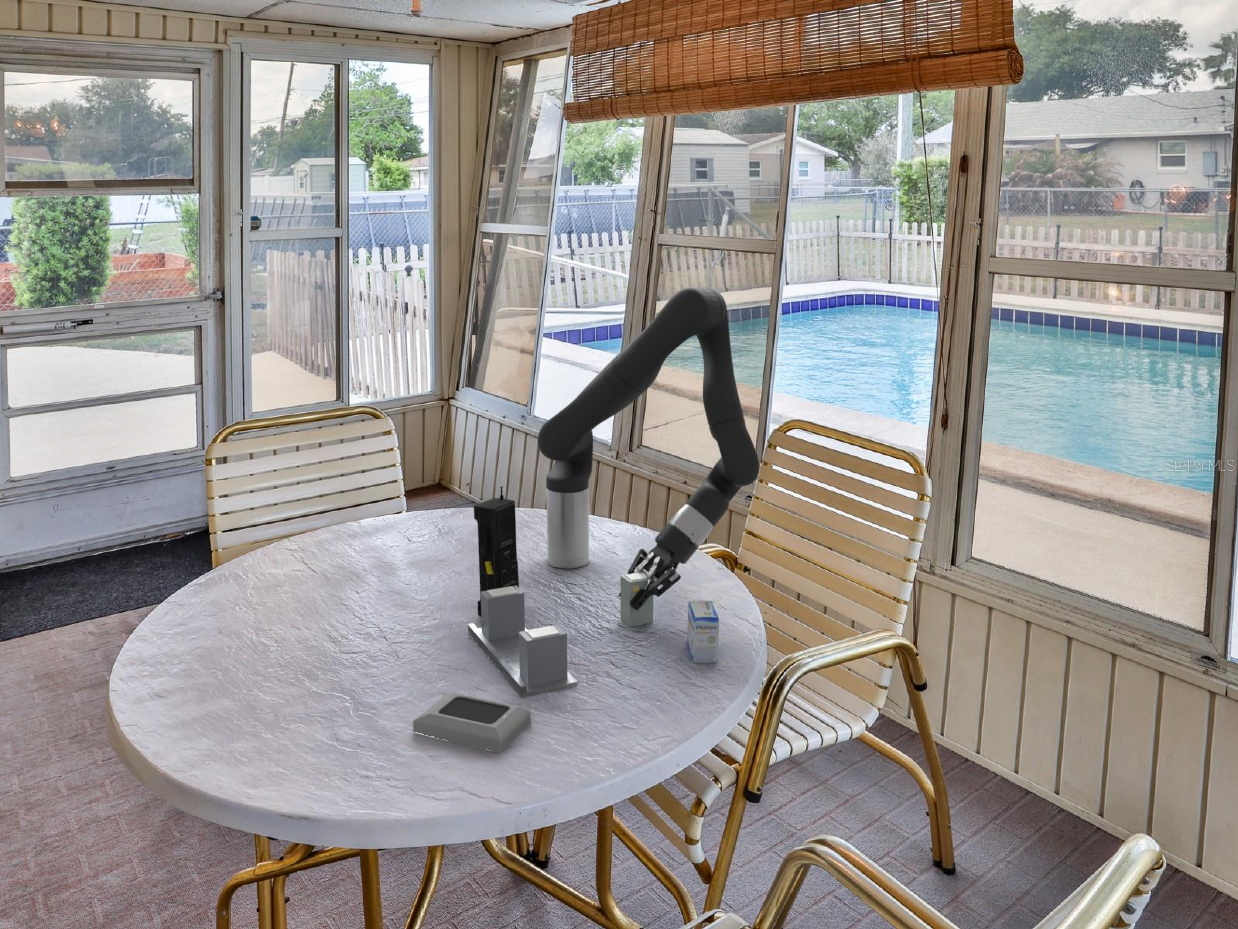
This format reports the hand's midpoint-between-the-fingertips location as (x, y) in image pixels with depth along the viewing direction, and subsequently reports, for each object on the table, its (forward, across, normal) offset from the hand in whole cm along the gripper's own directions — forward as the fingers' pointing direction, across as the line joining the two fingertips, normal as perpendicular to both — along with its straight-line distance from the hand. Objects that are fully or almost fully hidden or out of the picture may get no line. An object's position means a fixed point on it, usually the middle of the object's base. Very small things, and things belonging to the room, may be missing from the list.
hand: (627, 602), depth 196 cm
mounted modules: (+20, +6, -14) cm, 25 cm away
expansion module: (+2, 0, +4) cm, 5 cm away
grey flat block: (+31, +26, -24) cm, 47 cm away
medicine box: (-1, +18, +7) cm, 19 cm away
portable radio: (+18, -14, -12) cm, 26 cm away
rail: (+20, +6, -14) cm, 25 cm away
